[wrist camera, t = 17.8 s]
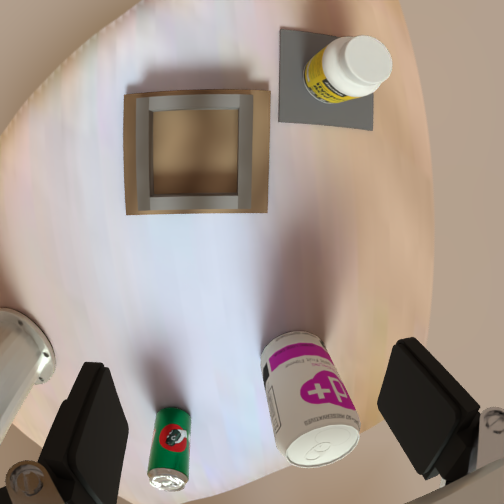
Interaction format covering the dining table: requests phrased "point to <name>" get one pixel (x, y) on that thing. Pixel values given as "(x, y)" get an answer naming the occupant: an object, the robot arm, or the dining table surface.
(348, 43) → the supplement bottle
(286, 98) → the mat
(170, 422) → the soda can
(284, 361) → the supplement can
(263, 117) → the block
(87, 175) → the dining table surface
